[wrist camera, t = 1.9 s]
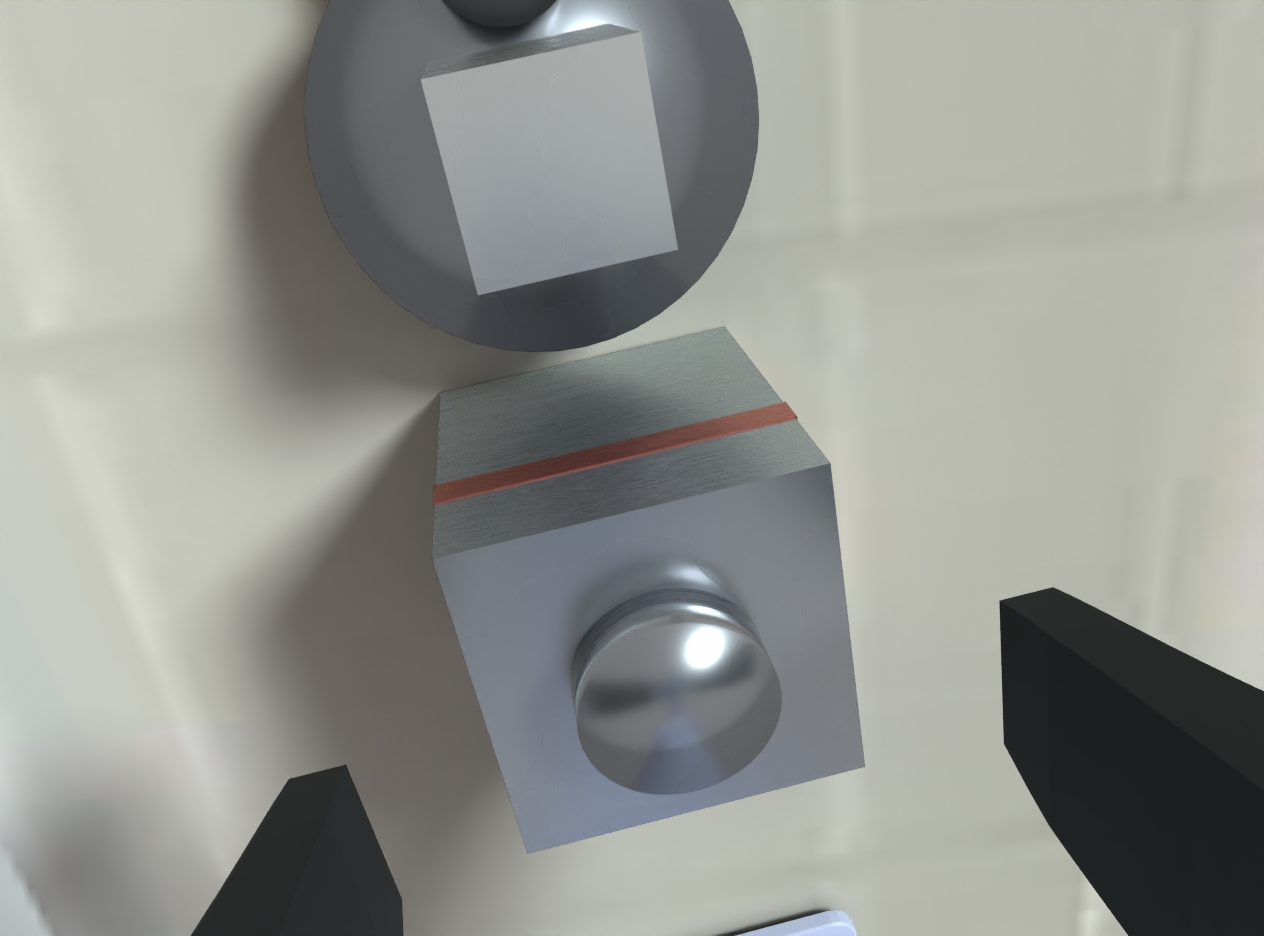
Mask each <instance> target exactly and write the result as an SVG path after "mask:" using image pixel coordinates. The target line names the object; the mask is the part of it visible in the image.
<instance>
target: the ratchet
mask: <svg viewBox="0 0 1264 936" xmlns="http://www.w3.org/2000/svg"><path fill="white" fill-rule="evenodd" d="M305 129H306V137H307V146H308V154H309V159H310V162H311V166H312V170H313V174H314V178H315V182H316V186H317V189H318V191H319V194H320V196H321V199H322V201H323V204H324V206H325V209H326V212H327V214H328V216H329V218H330V220H331V222H332V223H333V225H334V227H335V229H336V231H337V233H338V234H339V236H340V238H341V240H342V242H343V243H344V245H345V246H346V247H347V249H348V250H349V252H350V253H351V254H352V256H353V257H354V259H355V260H356V261H357V263H358V264H359V266H360V267H361V268H362V269H363V270H364V271H365V272H366V273H367V274H368V275H369V277H370V278H371V279H372V280H373V281H374V282H375V283H376V284H377V285H378V286H379V287H380V288H381V289H382V290H383V291H384V292H385V293H387V294H388V295H389V296H390V297H391V298H392V299H394V300H395V301H396V302H397V303H398V304H400V305H401V306H402V307H403V308H405V309H406V310H408V311H409V312H411V313H412V314H414V315H416V316H417V317H419V318H420V319H422V320H423V321H425V322H426V323H428V324H430V325H432V326H434V327H436V328H438V329H440V330H443V331H445V332H447V333H449V334H451V335H453V336H456V337H459V338H462V339H465V340H468V341H471V342H473V343H476V344H480V345H485V346H489V347H494V348H499V349H504V350H513V351H525V352H546V351H562V350H568V349H574V348H580V347H586V346H589V345H593V344H596V343H599V342H603V341H606V340H609V339H612V338H615V337H617V336H619V335H621V334H624V333H626V332H628V331H630V330H633V329H635V328H637V327H639V326H640V325H642V324H644V323H645V322H647V321H649V320H650V319H652V318H654V317H655V316H657V315H659V314H660V313H661V312H663V311H664V310H665V309H667V308H668V307H669V306H670V305H672V304H673V303H674V302H676V301H677V300H678V299H679V298H681V297H682V296H683V295H684V294H685V293H686V292H687V291H688V290H689V289H690V288H691V287H692V286H693V285H694V284H695V283H696V282H697V281H698V280H699V279H700V278H701V276H702V275H703V274H704V273H705V271H706V270H707V269H708V267H709V266H710V265H711V264H712V262H713V261H714V260H715V258H716V257H717V256H718V254H719V253H720V251H721V249H722V248H723V246H724V244H725V243H726V241H727V239H728V238H729V236H730V234H731V233H732V231H733V228H734V226H735V224H736V222H737V219H738V217H739V215H740V213H741V210H742V208H743V206H744V203H745V200H746V196H747V193H748V190H749V187H750V183H751V180H752V176H753V171H754V165H755V159H756V154H757V147H758V130H759V110H758V94H757V85H756V80H755V75H754V70H753V64H752V59H751V56H750V53H749V49H748V46H747V43H746V40H745V37H744V34H743V31H742V28H741V26H740V24H739V22H738V20H737V17H736V15H735V13H734V11H733V9H732V7H731V5H730V2H729V0H330V2H329V5H328V7H327V9H326V11H325V14H324V16H323V18H322V21H321V23H320V25H319V27H318V31H317V34H316V38H315V42H314V45H313V49H312V52H311V56H310V60H309V67H308V74H307V81H306V88H305Z"/></svg>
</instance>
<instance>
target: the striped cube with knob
mask: <svg viewBox="0 0 1264 936" xmlns="http://www.w3.org/2000/svg"><path fill="white" fill-rule="evenodd" d="M433 506H434V509H435V511H434V531H433V551H432V561H433V564H434V567H435V570H436V573H437V576H438V579H439V582H440V585H441V588H442V591H443V595H444V598H445V601H446V604H447V607H448V610H449V613H450V616H451V619H452V622H453V625H454V628H455V631H456V635H457V638H458V641H459V644H460V647H461V650H462V653H463V656H464V659H465V662H466V665H467V668H468V671H469V675H470V678H471V681H472V684H473V687H474V690H475V693H476V696H477V699H478V702H479V705H480V708H481V711H482V715H483V718H484V721H485V724H486V727H487V730H488V733H489V736H490V739H491V742H492V745H493V748H494V752H495V755H496V758H497V761H498V764H499V767H500V770H501V773H502V776H503V779H504V782H505V785H506V788H507V792H508V795H509V798H510V801H511V804H512V807H513V810H514V813H515V816H516V819H517V822H518V825H519V828H520V832H521V835H522V838H523V841H524V844H525V847H526V850H527V853H528V854H529V853H533V852H537V851H541V850H545V849H548V848H552V847H556V846H560V845H564V844H568V843H572V842H576V841H579V840H583V839H587V838H591V837H595V836H599V835H603V834H606V833H610V832H614V831H618V830H622V829H626V828H630V827H634V826H637V825H641V824H645V823H649V822H653V821H657V820H661V819H665V818H668V817H672V816H676V815H680V814H684V813H688V812H692V811H696V810H699V809H703V808H707V807H711V806H715V805H719V804H723V803H727V802H730V801H734V800H738V799H742V798H746V797H750V796H754V795H758V794H761V793H765V792H769V791H773V790H777V789H781V788H785V787H789V786H792V785H796V784H800V783H804V782H808V781H812V780H816V779H820V778H823V777H827V776H831V775H835V774H839V773H843V772H847V771H850V770H854V769H858V768H862V767H865V762H864V753H863V745H862V736H861V727H860V718H859V710H858V701H857V692H856V683H855V675H854V666H853V657H852V648H851V640H850V631H849V622H848V613H847V604H846V596H845V587H844V578H843V569H842V561H841V552H840V543H839V534H838V526H837V517H836V508H835V499H834V491H833V482H832V473H831V464H830V462H829V461H828V459H827V458H826V457H825V456H824V454H823V453H822V452H821V450H820V449H819V448H818V446H817V445H816V444H815V443H814V441H813V440H812V439H811V437H810V436H809V435H808V434H807V432H806V431H805V430H804V428H803V427H802V426H801V424H800V423H799V422H798V420H797V416H796V414H795V413H794V412H793V411H792V409H791V408H790V407H789V405H788V404H787V403H786V402H783V401H782V400H781V399H780V397H779V396H778V395H777V393H776V392H775V391H774V390H773V388H772V387H771V386H770V384H769V383H768V382H767V380H766V379H765V378H764V377H763V375H762V374H761V373H760V371H759V370H758V369H757V368H756V366H755V365H754V364H753V362H752V361H751V360H750V359H749V357H748V356H747V355H746V353H745V352H744V351H743V349H742V348H741V347H740V346H739V344H738V343H737V342H736V340H735V339H734V338H733V337H732V335H731V334H730V333H729V331H728V330H727V329H726V327H721V328H717V329H713V330H708V331H704V332H700V333H695V334H691V335H687V336H683V337H678V338H674V339H670V340H665V341H661V342H657V343H653V344H648V345H644V346H640V347H635V348H631V349H627V350H623V351H618V352H614V353H610V354H605V355H601V356H597V357H592V358H588V359H584V360H580V361H575V362H571V363H567V364H562V365H558V366H554V367H550V368H545V369H541V370H537V371H532V372H528V373H524V374H520V375H515V376H511V377H507V378H502V379H498V380H494V381H489V382H485V383H481V384H477V385H472V386H468V387H464V388H459V389H455V390H451V391H447V392H442V393H440V411H439V431H438V451H437V471H436V485H434V490H433Z"/></svg>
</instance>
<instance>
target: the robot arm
mask: <svg viewBox="0 0 1264 936" xmlns="http://www.w3.org/2000/svg"><path fill="white" fill-rule="evenodd" d="M1000 631H1001V664H1002V696H1003V729H1004V745H1005V747H1006V748H1007V750H1008V752H1009V754H1010V756H1011V758H1012V760H1013V762H1014V763H1015V765H1016V767H1017V769H1018V771H1019V773H1020V775H1021V776H1022V778H1023V780H1024V782H1025V784H1026V786H1027V788H1028V789H1029V791H1030V793H1031V795H1032V796H1033V798H1034V800H1035V802H1036V804H1037V805H1038V807H1039V809H1040V811H1041V812H1042V814H1043V816H1044V818H1045V819H1046V821H1047V823H1048V825H1049V826H1050V828H1051V829H1052V830H1053V832H1054V833H1055V835H1056V836H1057V837H1058V839H1059V840H1060V842H1061V843H1062V845H1063V846H1064V847H1065V849H1066V850H1067V852H1068V853H1069V854H1070V856H1071V857H1072V859H1073V860H1074V861H1075V863H1076V864H1077V865H1078V867H1079V868H1080V870H1081V871H1082V872H1083V874H1084V875H1085V877H1086V878H1087V879H1088V881H1089V882H1090V884H1091V885H1092V886H1093V888H1094V889H1095V890H1096V892H1097V893H1098V895H1099V896H1100V897H1101V899H1102V900H1103V901H1104V903H1105V904H1106V906H1107V907H1108V908H1109V910H1110V911H1111V912H1112V914H1113V915H1114V916H1115V918H1116V919H1117V921H1118V922H1119V923H1120V925H1121V926H1122V927H1123V929H1124V930H1125V932H1126V933H1127V934H1128V936H1264V691H1262V690H1260V689H1258V688H1255V687H1253V686H1251V685H1249V684H1247V683H1245V682H1243V681H1241V680H1239V679H1236V678H1234V677H1232V676H1230V675H1228V674H1226V673H1224V672H1222V671H1220V670H1218V669H1216V668H1214V667H1212V666H1210V665H1208V664H1205V663H1203V662H1201V661H1199V660H1197V659H1195V658H1193V657H1191V656H1189V655H1187V654H1185V653H1183V652H1181V651H1179V650H1177V649H1175V648H1173V647H1171V646H1169V645H1167V644H1165V643H1163V642H1162V641H1160V640H1158V639H1156V638H1154V637H1152V636H1150V635H1148V634H1146V633H1144V632H1142V631H1140V630H1138V629H1136V628H1134V627H1132V626H1130V625H1128V624H1126V623H1124V622H1122V621H1120V620H1118V619H1116V618H1115V617H1113V616H1111V615H1109V614H1107V613H1105V612H1103V611H1101V610H1099V609H1097V608H1095V607H1093V606H1091V605H1089V604H1087V603H1085V602H1083V601H1081V600H1079V599H1077V598H1075V597H1073V596H1071V595H1069V594H1066V593H1064V592H1062V591H1060V590H1058V589H1056V588H1053V587H1052V588H1048V589H1044V590H1040V591H1036V592H1032V593H1028V594H1024V595H1020V596H1016V597H1012V598H1008V599H1004V600H1000ZM191 936H403V916H402V898H401V896H400V894H399V891H398V889H397V886H396V884H395V882H394V879H393V877H392V874H391V872H390V870H389V867H388V865H387V862H386V860H385V858H384V855H383V853H382V850H381V848H380V845H379V843H378V841H377V838H376V836H375V833H374V831H373V829H372V826H371V824H370V821H369V819H368V817H367V814H366V812H365V809H364V807H363V805H362V802H361V800H360V797H359V795H358V793H357V790H356V788H355V785H354V783H353V780H352V778H351V776H350V773H349V771H348V768H347V766H346V765H343V766H339V767H335V768H331V769H327V770H323V771H319V772H315V773H311V774H307V775H303V776H299V777H295V778H291V779H289V780H288V781H287V783H286V784H285V786H284V787H283V789H282V790H281V792H280V794H279V795H278V797H277V798H276V800H275V801H274V803H273V804H272V806H271V808H270V809H269V811H268V812H267V814H266V816H265V817H264V819H263V821H262V822H261V824H260V826H259V827H258V829H257V830H256V832H255V834H254V835H253V837H252V839H251V840H250V842H249V844H248V845H247V847H246V849H245V850H244V852H243V853H242V855H241V857H240V858H239V860H238V862H237V863H236V865H235V866H234V868H233V870H232V871H231V873H230V875H229V876H228V878H227V879H226V881H225V883H224V884H223V886H222V888H221V889H220V891H219V892H218V894H217V896H216V897H215V899H214V900H213V902H212V903H211V905H210V906H209V908H208V910H207V911H206V913H205V914H204V916H203V917H202V919H201V920H200V922H199V924H198V925H197V927H196V928H195V930H194V931H193V933H192V934H191ZM735 936H857V932H856V930H855V927H854V925H853V923H852V920H851V918H850V916H849V915H848V914H846V913H845V912H842V911H837V910H832V911H826V912H822V913H818V914H814V915H811V916H807V917H803V918H799V919H795V920H792V921H788V922H784V923H780V924H777V925H773V926H769V927H765V928H762V929H758V930H754V931H750V932H746V933H743V934H739V935H735Z"/></svg>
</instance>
